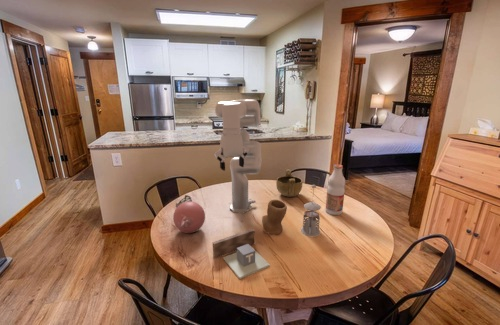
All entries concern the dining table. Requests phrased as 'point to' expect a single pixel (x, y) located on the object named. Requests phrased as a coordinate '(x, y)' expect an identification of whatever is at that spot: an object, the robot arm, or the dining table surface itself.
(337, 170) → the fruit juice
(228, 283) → the dining table surface
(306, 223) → the french press
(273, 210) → the stone cup
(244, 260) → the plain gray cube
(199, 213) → the balloon
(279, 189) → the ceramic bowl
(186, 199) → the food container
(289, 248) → the dining table surface
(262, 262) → the display mat
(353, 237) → the dining table surface
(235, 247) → the walnut screen
